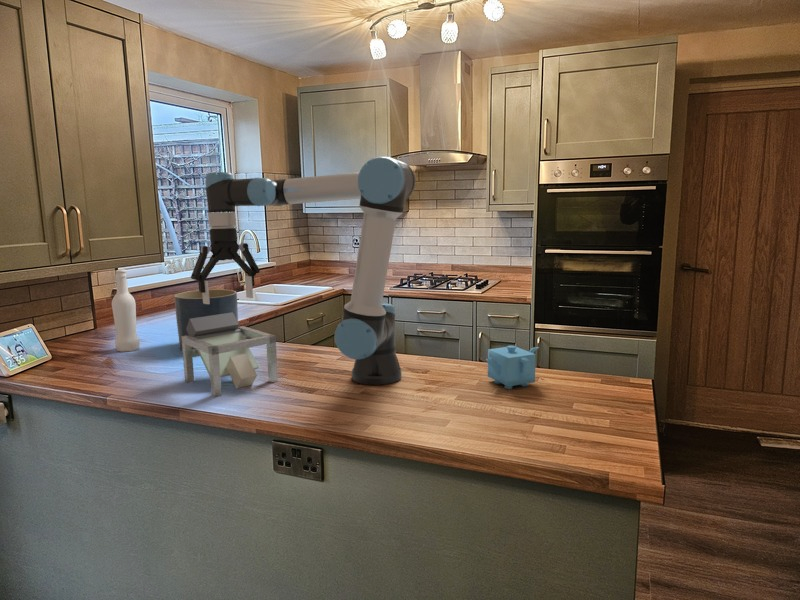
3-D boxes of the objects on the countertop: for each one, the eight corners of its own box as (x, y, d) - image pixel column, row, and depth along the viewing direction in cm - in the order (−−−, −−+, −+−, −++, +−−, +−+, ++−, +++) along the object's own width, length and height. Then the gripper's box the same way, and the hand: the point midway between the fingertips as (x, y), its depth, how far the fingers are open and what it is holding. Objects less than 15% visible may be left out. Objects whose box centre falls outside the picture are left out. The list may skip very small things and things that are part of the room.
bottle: (110, 351, 205) (102, 270, 200) (128, 346, 212) (121, 268, 207) (127, 353, 202) (119, 271, 197) (144, 347, 209) (137, 268, 204)
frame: (277, 381, 167) (275, 335, 165) (214, 397, 154) (211, 348, 151) (245, 367, 182) (242, 325, 179) (185, 381, 168) (181, 336, 166)
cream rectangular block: (246, 353, 164) (257, 375, 161) (241, 363, 167) (252, 384, 164) (230, 356, 161) (241, 378, 158) (225, 366, 164) (236, 388, 161)
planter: (238, 337, 225) (235, 288, 222) (241, 350, 204) (237, 296, 201) (180, 341, 218) (176, 291, 215) (176, 355, 198) (172, 300, 194)
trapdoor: (256, 372, 171) (261, 362, 168) (209, 383, 161) (213, 373, 158) (230, 321, 180) (234, 312, 177) (184, 329, 170) (187, 319, 167)
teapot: (472, 380, 166) (472, 343, 164) (522, 372, 173) (523, 337, 171) (502, 396, 151) (503, 356, 149) (555, 387, 158) (556, 348, 156)
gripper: (255, 225, 170) (260, 294, 174) (174, 229, 153) (181, 305, 157) (268, 225, 165) (272, 296, 168) (185, 229, 148) (192, 307, 152)
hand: (228, 300), depth 163 cm, fingers open, 13 cm apart
